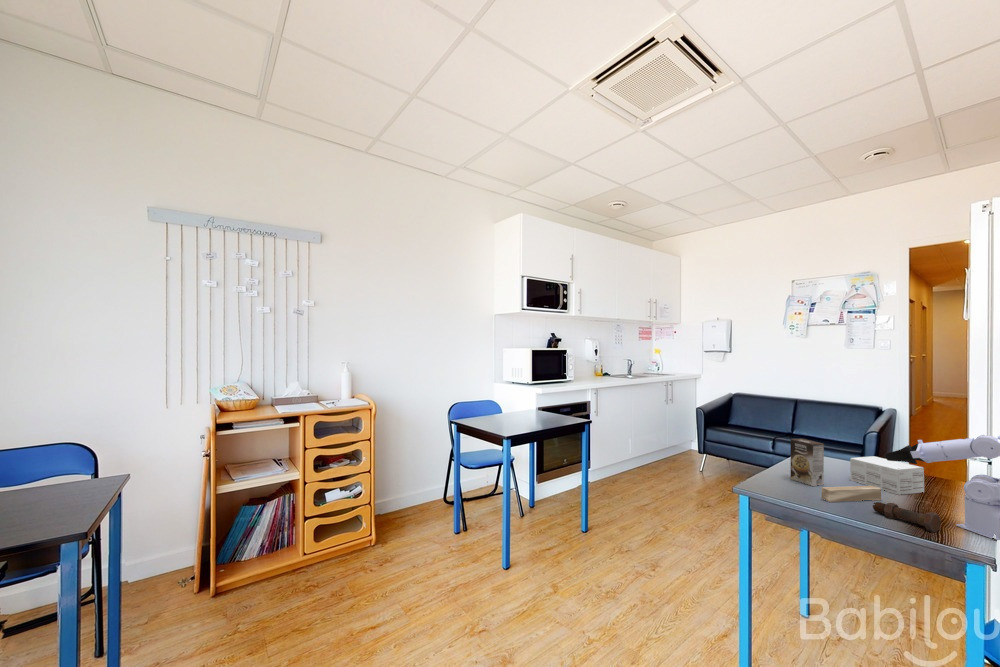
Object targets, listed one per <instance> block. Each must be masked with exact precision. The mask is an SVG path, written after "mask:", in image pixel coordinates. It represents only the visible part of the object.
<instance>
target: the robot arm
mask: <svg viewBox="0 0 1000 667" xmlns="http://www.w3.org/2000/svg"><path fill="white" fill-rule="evenodd" d="M884 456H885V459H887V460H888V461H897V462H901V463H907V464H911V465H918V461H919V462H925V463H926V464H931V463H934V462H935V463H936V462H946V461H958V460H969V459H972V458H981V457H982V458H987V459H989V460H990V459H996V458H998V457H1000V435H998V436H997V437H995V436H993V435H985V434H981V435H978V436H976V437H975V438H974V437H973V438H972V437H971V438H967V437H966V438H964V439H963V438H958V439H949V440H948V439H947V440H941V441H931V442H930V441H929V442H924V441H923V439H918V440H917V443H915V444H914V445H913V446H912V445H910V444H907V445H906V446H904V447H902V448H900V449H898V450H894V451H890V452H886V453H885V454H884ZM963 490H964V493H965V494H964V523H956V525H955V526H956V527H959V528H961V529H965V530H967V531H969V532H972V533H974V534H977V535H981V536H984V537H986V538H988V539H992V538H993V536H994V534H995V535H996V540H995V541H1000V478H999V477H994V476H991V475H989V474H988V475H987V474H976V475H973V476H971V478H970V480H967V481H966V482H965V484H964V485H963ZM992 540H993V539H992Z"/></svg>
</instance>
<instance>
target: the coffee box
mask: <svg viewBox="0 0 1000 667" xmlns="http://www.w3.org/2000/svg"><path fill="white" fill-rule="evenodd" d="M824 453H825V443H822V442H818V441H814V440H809V439H806V438H790V480H792V481H795V482H798V481H799V482H798V483H801V482H802V483H801V484H804V483H805V484H804V485H807V484H808V486H810V485H811V487H817V485H819V486H824V483H825V482H824V481H825V480H824V471H825V470H824V464H825V462H824V459H825V457H824V456H825V454H824Z"/></svg>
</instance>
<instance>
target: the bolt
mask: <svg viewBox="0 0 1000 667" xmlns="http://www.w3.org/2000/svg"><path fill="white" fill-rule="evenodd" d="M872 508H873V510H874V512H876V513H878V514H879V513H880V514H883V515H885V517H886V518H889V519H893V520H896V519H899V520H900V519H901V520H904V521H908V522H911V523H915V524H917V525H920V526H924V527H925V529H926V531H928V532H931V533H936V532H939V531H940V528H941V526H942V522H941V520H942V519H941V516H940V515H939V514H938V513H937V512H932V511H931V512H927V513H920V512H918V511H913V510H909V509H905V508H902V507H899V505H898V504H896V503H895V502H888V503H883V502H880V501H877V502H874V501H873V505H872Z"/></svg>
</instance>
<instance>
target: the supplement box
mask: <svg viewBox="0 0 1000 667" xmlns="http://www.w3.org/2000/svg"><path fill="white" fill-rule="evenodd" d="M849 462H850V464H849V465H850V468H849V469H850V476H849V477H850V479H849V480H850V481H851V482H854V481H855V482H854V483H857V482H858V484H861V483H862V484H861V485H864V484H865V485H864V486H867V485H868V486H875V487H878V488H881V491H884V490H885V491H884V492H887V491H888V493H890V494H895V495H899V496H901V494H902V495H909V494H920V493H922V492H923V493H925V472H924V471H925V468H924V467H923V466H918V465H916V464H911V463H907V462H902V461H888V460H887V459H886V458H883V457H879V456H874V455H872V456H871V455H870V456H859V457H858V456H857V457H851V458H849Z"/></svg>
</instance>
